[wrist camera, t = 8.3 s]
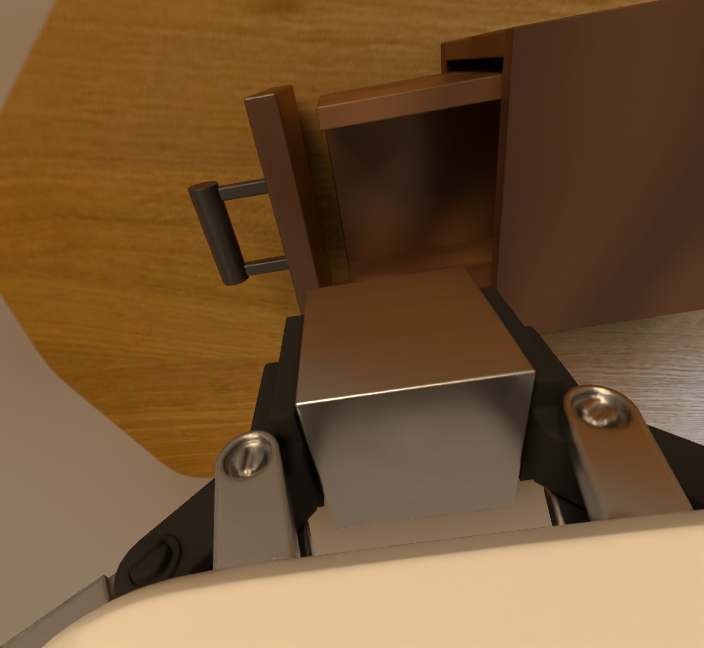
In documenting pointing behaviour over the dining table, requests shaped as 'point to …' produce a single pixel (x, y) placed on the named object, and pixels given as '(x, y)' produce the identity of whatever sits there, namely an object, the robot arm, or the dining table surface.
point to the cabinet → (598, 163)
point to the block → (411, 398)
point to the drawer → (373, 180)
